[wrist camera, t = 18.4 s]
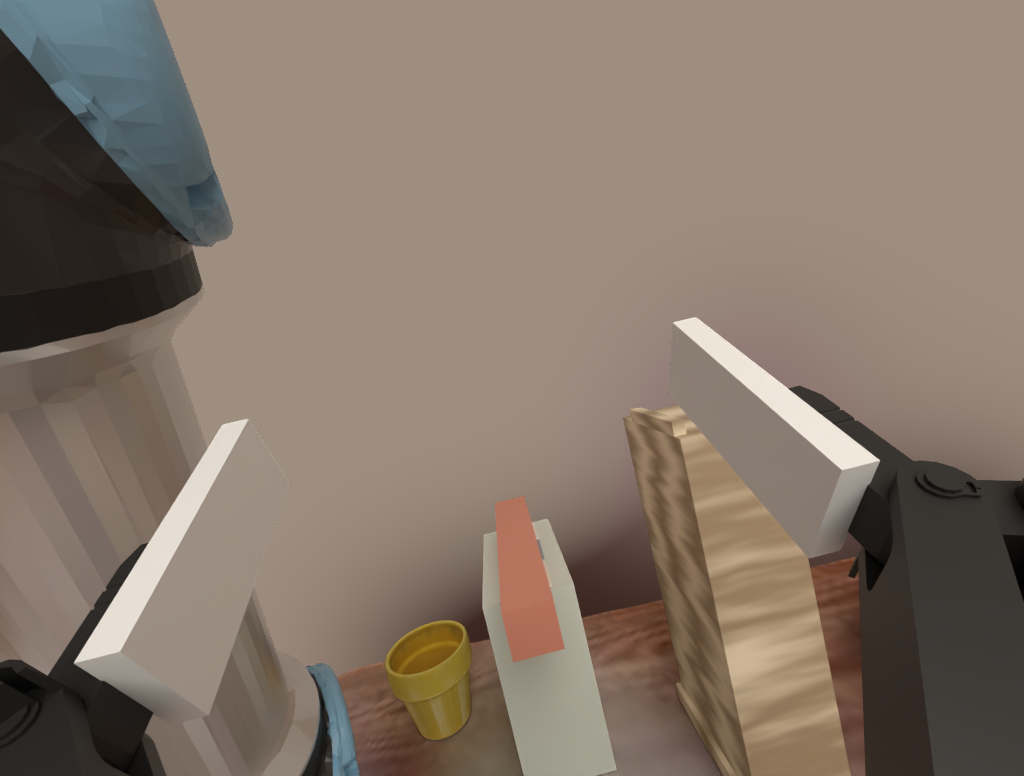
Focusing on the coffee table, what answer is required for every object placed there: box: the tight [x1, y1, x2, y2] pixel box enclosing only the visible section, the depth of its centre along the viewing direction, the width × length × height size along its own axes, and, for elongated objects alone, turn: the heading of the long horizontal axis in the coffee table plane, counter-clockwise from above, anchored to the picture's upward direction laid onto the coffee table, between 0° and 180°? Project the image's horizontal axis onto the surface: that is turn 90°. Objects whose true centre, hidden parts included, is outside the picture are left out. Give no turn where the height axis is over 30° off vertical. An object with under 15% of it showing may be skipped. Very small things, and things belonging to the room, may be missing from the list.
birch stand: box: [623, 404, 851, 776], centre depth 41 cm, size 15×9×34 cm, turn 4°
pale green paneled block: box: [482, 519, 617, 776], centre depth 51 cm, size 18×9×20 cm, turn 4°
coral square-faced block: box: [495, 496, 565, 662], centre depth 46 cm, size 26×4×4 cm, turn 4°
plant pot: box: [385, 620, 472, 740], centre depth 55 cm, size 10×10×10 cm
